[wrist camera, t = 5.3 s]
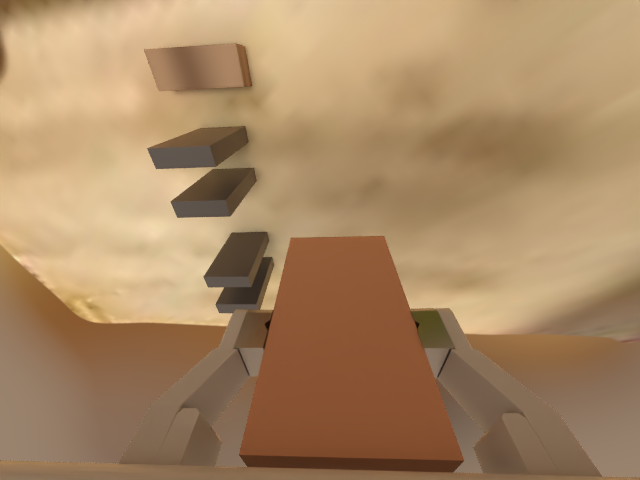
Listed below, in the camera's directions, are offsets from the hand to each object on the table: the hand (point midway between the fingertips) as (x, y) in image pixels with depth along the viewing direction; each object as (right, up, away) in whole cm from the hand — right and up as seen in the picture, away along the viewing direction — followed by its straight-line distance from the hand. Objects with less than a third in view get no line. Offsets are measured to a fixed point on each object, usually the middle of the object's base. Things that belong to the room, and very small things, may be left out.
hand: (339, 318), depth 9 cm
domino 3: (-11, +3, +24) cm, 27 cm away
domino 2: (-11, +11, +19) cm, 25 cm away
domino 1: (-11, +15, +17) cm, 25 cm away
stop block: (-12, +19, +13) cm, 26 cm away
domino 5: (0, +3, +4) cm, 5 cm away
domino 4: (-10, 0, +27) cm, 29 cm away
